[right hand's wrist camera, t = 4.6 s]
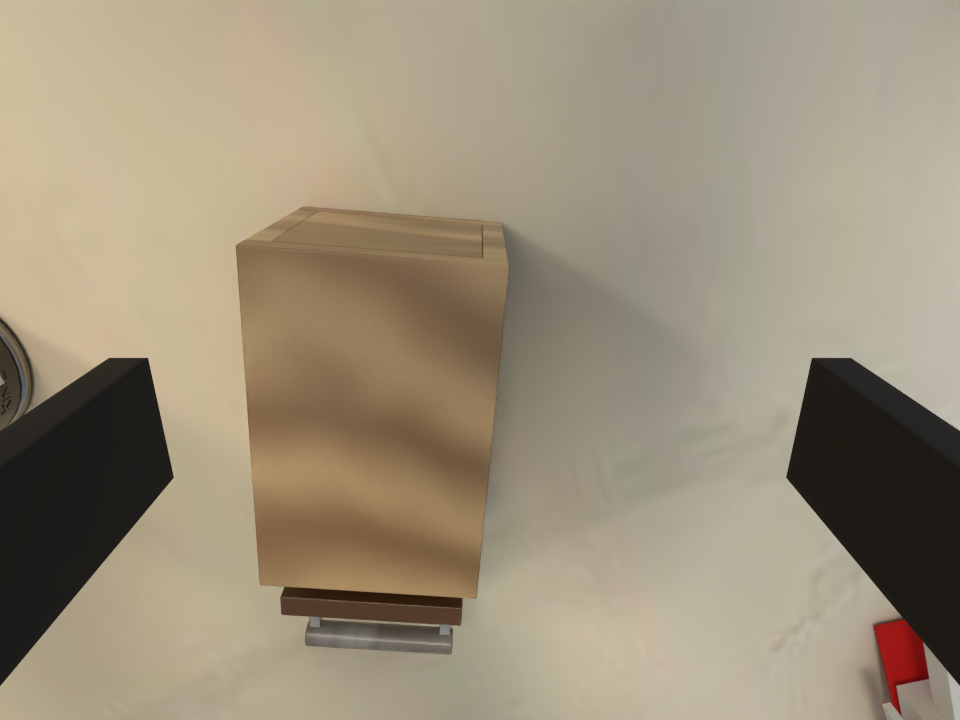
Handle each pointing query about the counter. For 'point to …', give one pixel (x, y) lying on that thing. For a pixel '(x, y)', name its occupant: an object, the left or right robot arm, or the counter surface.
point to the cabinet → (372, 397)
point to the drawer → (376, 609)
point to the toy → (915, 677)
